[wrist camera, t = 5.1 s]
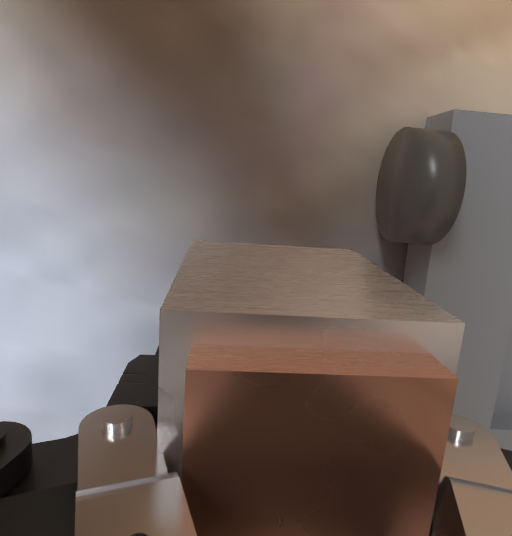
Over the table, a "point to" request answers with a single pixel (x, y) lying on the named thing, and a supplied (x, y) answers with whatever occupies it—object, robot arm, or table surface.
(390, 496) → the block
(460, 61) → the table surface
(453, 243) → the chassis
